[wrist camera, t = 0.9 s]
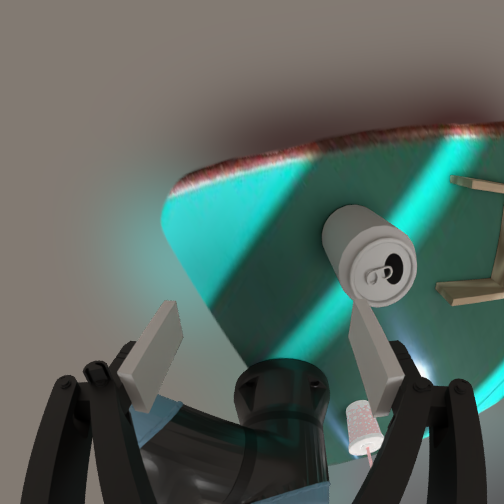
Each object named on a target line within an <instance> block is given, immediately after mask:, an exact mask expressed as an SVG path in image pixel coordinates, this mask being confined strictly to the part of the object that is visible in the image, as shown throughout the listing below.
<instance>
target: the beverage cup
mask: <svg viewBox="0 0 504 504" xmlns="http://www.w3.org/2000/svg"><path fill="white" fill-rule="evenodd" d="M346 415H347V424H348V433H349V442H350V444H349V452H350V453H351V454H352V455H365V454H368V459H369V464H370V469H371V467H372V464H373V463H372V459H371V454H370V453H372V452H374V451H376V450H378V449H379V448H380V447H381V445H382V442H383V440H384V436H383V434H381V431H380V429H379V426H378V423H377V420H376V418H373V415H372V412H371V408H370V405H369V402H368V401H366V400H359V401H356V402H353V403H351V404H350V405H349V406H348V407H347V409H346Z"/></svg>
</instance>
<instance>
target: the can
mask: <svg viewBox="0 0 504 504" xmlns="http://www.w3.org/2000/svg"><path fill="white" fill-rule="evenodd" d="M322 245H323V247H324V250H325V252H326V254H327V256H328V258H329V261H330V263H331V265H332V267H333V269H334V271H335V273H336V275H337V278H338V280H339V282H340V284H341V286H342V288H343V290H344V292H345V293H346V294H347V295H348V296H349V297H350V298H351V299H352V300H354V299H366V300H367V302H368V303H369V305H370V306H371V307H383V306H388V305H390V304H393V303H395V302H397V301H398V300H400V299H401V298H402V297H403V296H404V295H405V294H406V293H407V292H408V291H409V289H410V288H411V286H412V285H413V282H414V279H415V277H416V272H417V261H416V253H415V249H414V245H413V243H412V242H411V240H410V239H409V237H408V236H407V235H406V234H405V233H403V232H402V231H401V230H399V229H398V228H396V227H395V226H394V225H392V224H391V223H389V222H388V221H386V220H385V219H383V218H382V217H380V216H379V215H377V214H376V213H374V212H372V211H371V210H369V209H368V208H366V207H364V206H360V205H346V206H344V207H342V208H339V209H337V210H336V211H335V212H334V213H333V214H331V215H330V216H329V218H328V219H327V221H326V223H325V224H324V228H323V232H322Z"/></svg>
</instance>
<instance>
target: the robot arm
mask: <svg viewBox="0 0 504 504" xmlns="http://www.w3.org/2000/svg"><path fill="white" fill-rule="evenodd" d="M348 337H349V340H350V343H351V346H352V349H353V352H354V356H355V359H356V362H357V365H358V368H359V371H360V374H361V378H362V381H363V384H364V388H365V391H366V394H367V398H368V401H369V405H370V408H371V412H372V415H373V418H375V417H382V416H387V415H388V414H389V412H390V410H391V408H392V411H393V414H394V415H393V417H392V419H391V421H390V424H389V426H388V430H387V432H386V435H385V437H384V440H383V442H382V445H381V447H380V449H379V451H378V454H377V456H376V458H375V460H374V462H373V464H372V467H371V469H370V471H369V473H368V475H367V477H366V479H365V481H364V483H363V485H362V486H361V488H360V490H359V492H358V494H357V495H356V497H355V499H354V501H353V502H352V504H399V503H400V501H401V498H402V496H403V494H404V491H405V488H406V486H407V484H408V481H409V478H410V476H411V473H412V470H413V467H414V464H415V461H416V458H417V455H418V452H419V449H420V445H421V442H422V438H423V435H424V431H425V427H429V443H430V444H429V445H430V451H429V452H430V455H429V482H428V495H427V504H487V482H486V467H485V457H484V447H483V440H482V434H481V427H480V421H479V416H478V411H477V406H476V401H475V397H474V392H473V388H472V386H471V384H470V383H469V382H468V381H466V380H464V379H454V380H453V381H451V382H450V384H449V386H448V387H447V386H433V384H432V382H431V381H430V380H428V379H427V378H424V377H421V375H420V373H419V371H418V369H417V368H416V366H415V364H414V362H413V360H412V359H411V356H410V354H408V351H407V349H406V347H405V346H404V345H403V344H402V343H401V342H400V341H398V340H396V341H388V340H387V338H386V336H385V334H384V332H383V330H382V328H381V326H380V324H379V322H378V320H377V318H376V316H375V315H374V313H373V311H372V309H371V307H370V305H369V303H368V302H367V300H366V299H354V301H353V309H352V316H351V323H350V329H349V336H348ZM182 339H183V333H182V328H181V324H180V319H179V314H178V309H177V303H176V301H164V302H163V304H162V305H161V306H160V308H159V309H158V311H157V312H156V314H155V315H154V317H153V318H152V320H151V321H150V323H149V324H148V325H147V327H146V328H145V330H144V332H143V333H142V335H141V336H140V337H139V339H138V340H137V341H130V342H128V343H127V344H125V345H124V346H123V348H122V349H121V350H120V352H119V353H118V355H117V356H116V358H115V359H114V360H113V362H112V363H111V365H110V366H109V367H108V365H107V363H105V362H104V361H93V362H91V363H89V364H87V365H86V366H85V368H84V370H83V373H84V375H85V377H86V379H87V381H88V382H82V383H78V382H77V380H76V379H75V377H73V376H71V375H65V376H62V377H60V378H59V379H58V380H57V381H56V383H55V384H54V387H53V389H52V392H51V395H50V398H49V400H48V403H47V406H46V408H45V411H44V414H43V417H42V420H41V423H40V426H39V429H38V432H37V436H36V439H35V442H34V446H33V449H32V453H31V457H30V460H29V464H28V468H27V473H26V477H25V482H24V486H23V492H22V497H21V503H20V504H85V491H86V482H87V471H88V464H89V456H90V450H91V444H92V438H93V443H94V450H95V458H96V465H97V471H98V476H99V482H100V486H101V492H102V496H103V501H104V504H329V486H330V482H329V475H328V466H327V457H326V449H325V441H324V434H323V422H324V419H325V415H326V411H327V408H328V404H329V400H330V390H329V385H328V381H327V378H326V376H325V375H324V374H323V372H322V371H321V370H319V369H318V368H317V367H315V366H313V365H311V364H309V363H306V362H303V361H299V360H293V359H275V360H269V361H264V362H261V363H258V364H256V365H254V366H252V367H250V368H248V369H247V370H246V371H245V372H243V373H242V374H241V376H240V377H239V378H238V380H237V382H236V386H235V392H234V403H235V407H236V411H237V414H238V418H239V421H240V425H239V424H235V423H233V422H229V421H227V420H223V419H221V418H218V417H215V416H212V415H210V414H207V413H204V412H202V411H199V410H197V409H194V408H192V407H189V406H186V405H184V404H183V403H182V402H180V401H178V402H176V401H174V400H171V399H169V398H166V397H163V396H161V395H159V394H158V392H159V390H160V387H161V385H162V383H163V381H164V378H165V376H166V374H167V372H168V370H169V367H170V365H171V363H172V361H173V359H174V356H175V354H176V352H177V350H178V348H179V346H180V343H181V341H182Z"/></svg>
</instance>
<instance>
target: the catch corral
mask: <svg viewBox="0 0 504 504" xmlns="http://www.w3.org/2000/svg"><path fill="white" fill-rule="evenodd" d="M450 183H453V184H457V185H461V186H465V187H468V188H472V189H479V190H486V191H493V192H499V193H504V184H502V183H497V182H492V181H486V180H480V179H474V178H468V177H461V176H454V175H451V176H450ZM435 289H436V290H437V291H438V292H439V293H440V294H441V295H442V296H443V297H444V298H445V299H446V301H447V302H448V303H449V304H450V305H451V306H455V305H463V304H470V303H477V302H484V301H490V300H496V299H502V298H504V208H503V216H502V224H501V230H500V237H499V242H498V248H497V253H496V258H495V262H494V267H493V271H492V275H491V278H486V279H476V280H464V281H452V282H438V283H436V288H435Z"/></svg>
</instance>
